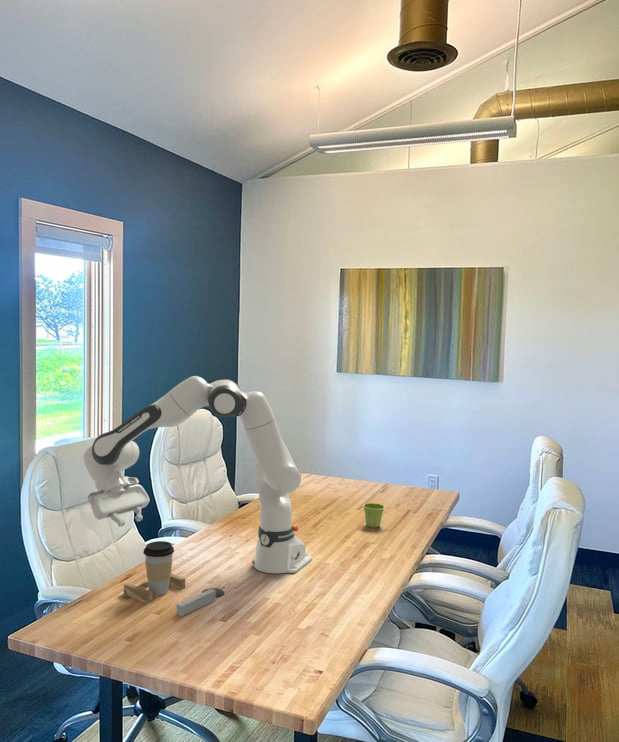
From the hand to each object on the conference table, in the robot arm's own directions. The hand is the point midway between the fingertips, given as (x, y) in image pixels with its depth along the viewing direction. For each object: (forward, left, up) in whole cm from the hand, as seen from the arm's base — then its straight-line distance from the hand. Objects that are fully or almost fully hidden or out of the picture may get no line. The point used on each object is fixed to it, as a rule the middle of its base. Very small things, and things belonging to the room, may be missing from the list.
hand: (131, 522), depth 202 cm
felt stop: (0, +30, -19) cm, 36 cm away
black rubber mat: (-10, +27, -19) cm, 35 cm away
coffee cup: (0, +13, -20) cm, 24 cm away
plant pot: (-104, +32, -20) cm, 111 cm away
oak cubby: (0, +12, -19) cm, 23 cm away
